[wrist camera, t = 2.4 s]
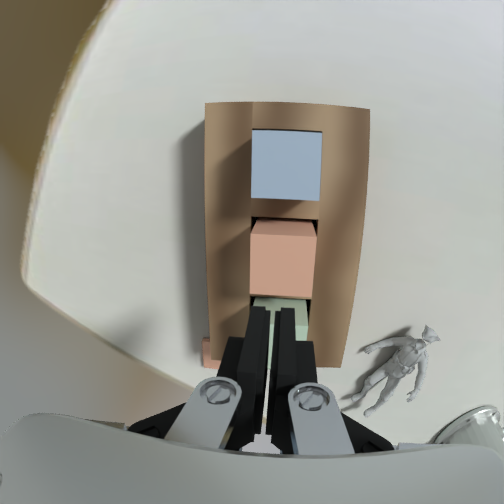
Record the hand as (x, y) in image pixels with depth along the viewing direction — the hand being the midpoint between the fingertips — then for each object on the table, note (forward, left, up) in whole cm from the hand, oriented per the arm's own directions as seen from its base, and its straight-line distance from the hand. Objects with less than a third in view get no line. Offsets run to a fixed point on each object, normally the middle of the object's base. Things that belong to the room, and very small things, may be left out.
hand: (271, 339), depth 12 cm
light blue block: (0, -6, -14) cm, 16 cm away
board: (0, 0, -16) cm, 16 cm away
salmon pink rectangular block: (0, 0, -14) cm, 14 cm away
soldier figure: (-13, +14, -17) cm, 25 cm away
